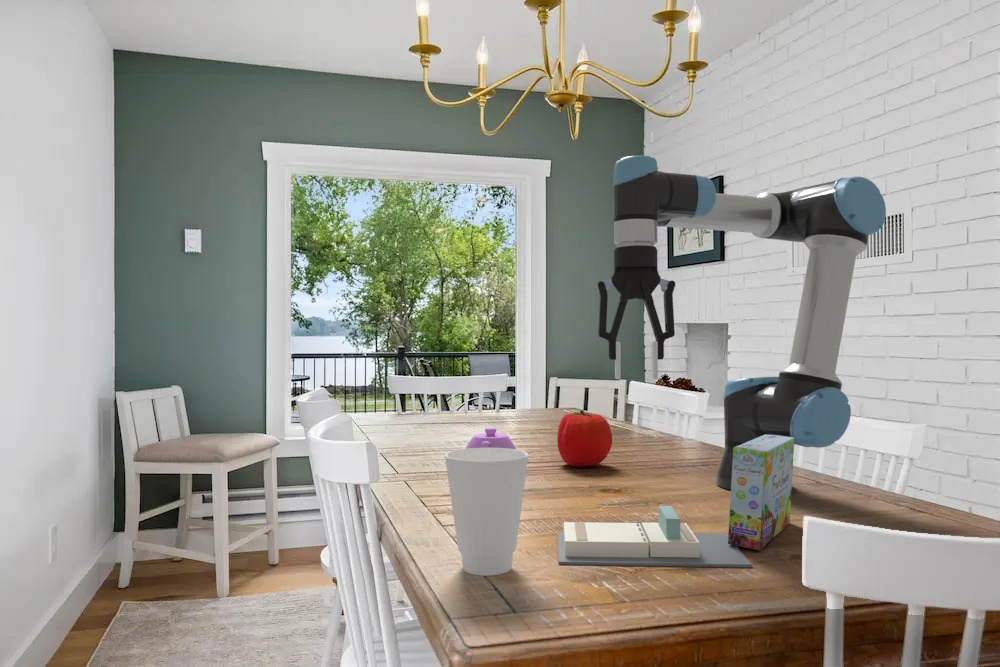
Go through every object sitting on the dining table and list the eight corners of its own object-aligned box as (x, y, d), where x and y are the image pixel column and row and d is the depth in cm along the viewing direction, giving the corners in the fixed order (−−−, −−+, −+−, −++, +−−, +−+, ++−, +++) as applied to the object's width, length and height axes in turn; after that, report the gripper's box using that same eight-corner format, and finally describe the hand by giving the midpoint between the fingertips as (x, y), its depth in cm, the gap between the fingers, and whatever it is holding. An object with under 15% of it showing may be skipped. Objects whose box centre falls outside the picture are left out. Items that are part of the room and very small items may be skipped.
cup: (462, 586, 98) (462, 463, 98) (433, 561, 108) (433, 450, 108) (544, 574, 102) (543, 457, 102) (508, 551, 113) (507, 445, 113)
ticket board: (725, 536, 121) (725, 519, 121) (752, 567, 105) (751, 548, 105) (557, 534, 123) (557, 517, 123) (558, 564, 107) (558, 545, 107)
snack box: (764, 552, 111) (767, 450, 111) (726, 545, 114) (729, 446, 114) (793, 523, 129) (795, 435, 129) (759, 518, 132) (762, 432, 132)
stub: (686, 536, 119) (685, 504, 119) (699, 557, 108) (699, 521, 108) (641, 536, 119) (641, 503, 119) (650, 556, 108) (650, 520, 108)
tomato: (564, 459, 194) (564, 406, 194) (617, 462, 189) (617, 408, 189) (547, 470, 179) (547, 413, 179) (604, 473, 174) (604, 415, 174)
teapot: (525, 466, 186) (524, 423, 185) (515, 482, 166) (515, 434, 166) (470, 465, 187) (470, 422, 187) (453, 480, 168) (453, 433, 168)
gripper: (685, 248, 135) (686, 377, 135) (581, 249, 136) (581, 377, 136) (693, 243, 127) (694, 379, 127) (582, 244, 129) (583, 379, 129)
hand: (636, 378), depth 132 cm, fingers open, 6 cm apart
